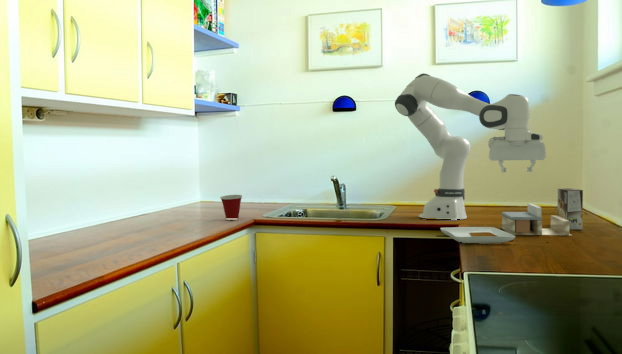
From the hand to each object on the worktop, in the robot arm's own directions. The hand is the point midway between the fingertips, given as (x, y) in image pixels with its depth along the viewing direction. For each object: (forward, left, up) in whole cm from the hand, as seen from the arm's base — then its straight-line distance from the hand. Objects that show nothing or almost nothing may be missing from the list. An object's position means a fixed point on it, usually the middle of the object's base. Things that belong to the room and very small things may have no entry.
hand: (516, 172), depth 187 cm
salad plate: (-17, -13, -25) cm, 33 cm away
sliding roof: (+2, -1, -17) cm, 17 cm away
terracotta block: (+2, -1, -23) cm, 23 cm away
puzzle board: (+7, -1, -24) cm, 25 cm away
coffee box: (+25, +15, -24) cm, 38 cm away
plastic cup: (-125, +29, -24) cm, 131 cm away
